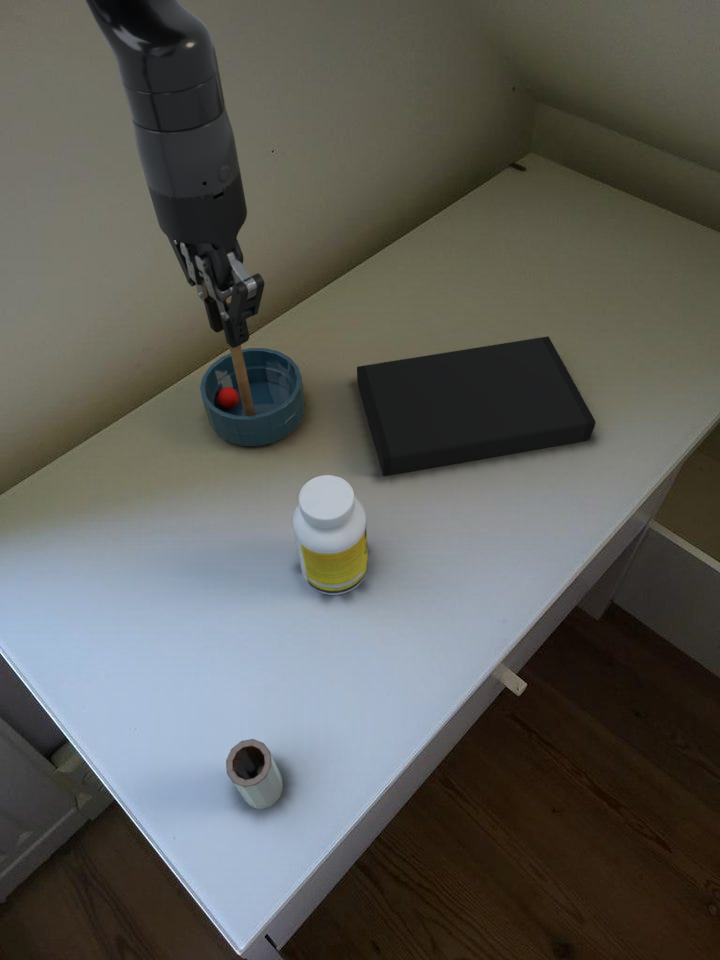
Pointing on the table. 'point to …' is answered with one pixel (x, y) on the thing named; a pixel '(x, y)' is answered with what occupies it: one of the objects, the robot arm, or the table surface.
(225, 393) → the ball
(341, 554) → the pill bottle
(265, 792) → the holder
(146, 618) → the table surface
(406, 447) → the external hard drive
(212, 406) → the bowl
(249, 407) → the stick
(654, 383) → the table surface
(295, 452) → the table surface
